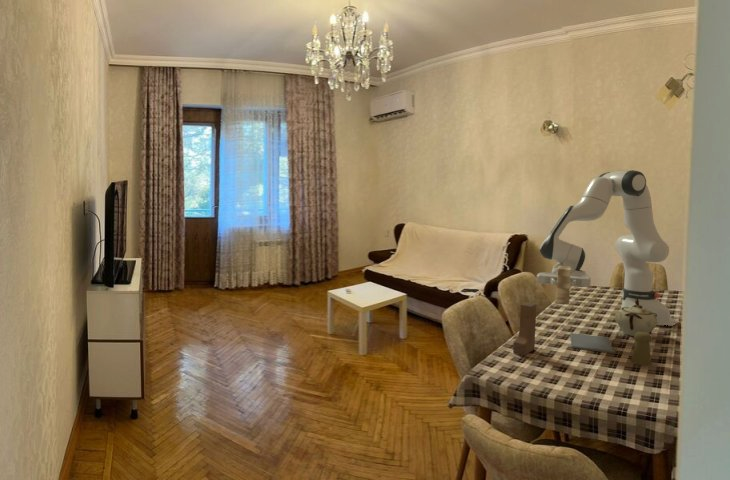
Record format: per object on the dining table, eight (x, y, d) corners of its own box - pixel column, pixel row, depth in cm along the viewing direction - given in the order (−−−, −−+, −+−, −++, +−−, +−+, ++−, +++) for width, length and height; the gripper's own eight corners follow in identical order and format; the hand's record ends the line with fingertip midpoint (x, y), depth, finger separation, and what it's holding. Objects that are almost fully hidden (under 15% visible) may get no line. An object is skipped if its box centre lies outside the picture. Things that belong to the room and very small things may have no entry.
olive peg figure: (627, 359, 155) (629, 330, 153) (642, 358, 155) (645, 329, 154) (639, 366, 149) (641, 336, 147) (655, 365, 149) (657, 335, 148)
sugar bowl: (620, 324, 193) (622, 292, 191) (659, 331, 183) (662, 297, 181) (608, 335, 179) (611, 301, 177) (651, 344, 169) (654, 307, 167)
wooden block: (524, 356, 158) (526, 309, 156) (512, 352, 162) (514, 306, 159) (534, 349, 165) (536, 304, 162) (523, 346, 168) (525, 302, 165)
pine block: (568, 300, 174) (570, 266, 173) (568, 304, 168) (570, 269, 166) (556, 299, 176) (557, 265, 174) (556, 303, 170) (558, 269, 168)
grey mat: (608, 339, 175) (608, 337, 175) (613, 353, 160) (613, 351, 160) (570, 334, 180) (570, 332, 180) (571, 347, 166) (572, 346, 166)
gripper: (536, 267, 187) (535, 274, 175) (589, 271, 179) (592, 277, 166) (536, 281, 188) (535, 289, 175) (588, 285, 180) (591, 293, 167)
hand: (563, 283), depth 171 cm, fingers closed on pine block, 4 cm apart
